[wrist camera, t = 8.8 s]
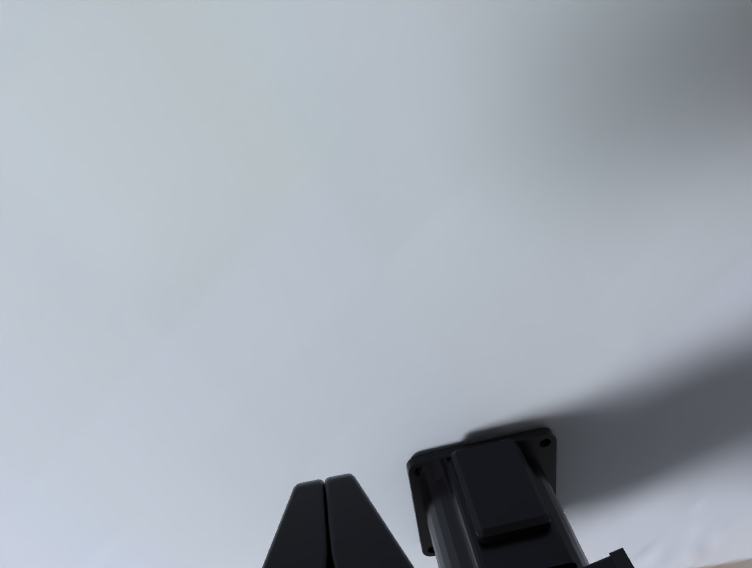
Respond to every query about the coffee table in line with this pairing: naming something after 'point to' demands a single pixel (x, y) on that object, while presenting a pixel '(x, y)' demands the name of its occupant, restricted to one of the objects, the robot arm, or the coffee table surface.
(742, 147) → the coffee table surface
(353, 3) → the coffee table surface
